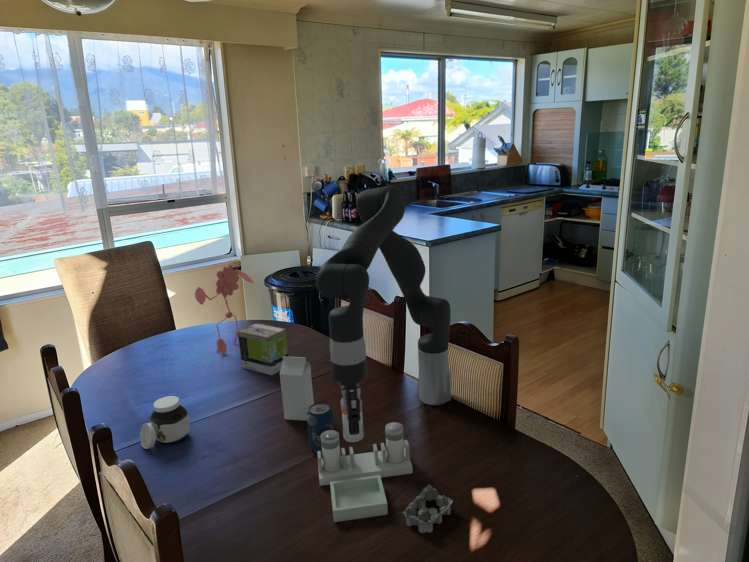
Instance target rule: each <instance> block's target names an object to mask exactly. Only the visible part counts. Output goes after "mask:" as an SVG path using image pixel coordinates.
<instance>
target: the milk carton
mask: <svg viewBox="0 0 749 562" xmlns="http://www.w3.org/2000/svg"><path fill="white" fill-rule="evenodd" d="M279 379H280V390H281V397H282V398H281V399H282V407H283V416H284V420H290V421H292V420H293V421H306V422H307V413H308V409H309V407H310V406H311V405H313V404H315V401H314V391H313V382H312V370H311V364H310V363H309V362H308V361H307V359H306V357H305V356H288V357H284V356H283V361H282V366H281V370H280V371H279Z"/></svg>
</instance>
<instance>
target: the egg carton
mask: <svg viewBox="0 0 749 562" xmlns="http://www.w3.org/2000/svg"><path fill="white" fill-rule="evenodd" d="M426 501H429V502H431V501H435V504H436V506H438V507H439V512H438V509H437V508H435V507H429V508H428V507H426V505H427V504H426ZM453 502H454V500H453V499H451V498H450V497H446V496H445V494H442V495H441V494H439V491H438V490H437V489H436V488H434V487H433V486H431V484H428V485H427V486H425V487H424V488H423V489H422V490H421V491H420V493H419V495H417V496H416V497H415V499H413V500H412V501H411V502H410V503H409V504H408V505H407V507H406V508H405V510H404V511H402V512H401V514H403V516H404V517H405V521H406V523H405V524H406V526H408V527H412V526H417V527H418V532H419V533H420V534H423V533H429V534H431V533H432V532H433V531H434V529H433V527H434V524H438V525H440V524H441V523H442V522H443V515H447V516H449V515H451V513H452V511H451V510H452V508H451V505H452V504H453ZM418 509H419V510H418ZM417 510H418V511H417Z"/></svg>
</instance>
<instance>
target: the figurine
mask: <svg viewBox="0 0 749 562" xmlns="http://www.w3.org/2000/svg"><path fill="white" fill-rule="evenodd" d="M216 277H217V278H218V279H217V281H216V282H215V285H216V294H215V295H214V296H212V297H209V296H208V295H207V294H206V291H205V290H204V289H203V288H202V287H200V286H198V287H197V288H196V289H195V292H194V298H195V299H196V302H198V303H199V304H200V305H201V306H203V305H204V303H205V301H206V300H207V299H208V301H212V300H213V299H214V298H217V297H218V296H219V295H220V294H221V296H222V297H223V299H224V301H225V304H226V307H227V308H226V309H227V310H228V311H226V312H225V314H224V315H225V318H223V319H222V320H221V321H219V322H218V323H217V324H216V330H217V332H218V333H217V334H218V337H219V338H218V339H217V340H216V347H217V349H216V352H217V353H218V352H220V353H221V355H222V356H225V355H226V353H227V350H228V349H227V344H226V342H225V340H224V339H223V338H221V335H220V331H219V324H221V323H222V322H223V321H224V320H226V319H231V318H232V317H234V320H235V326H236V331H235V338H234V340H233V341H234V342H233V344H236V341H237V339H239V337H238V331H239V327H238V321H237V316H236V315H235V314H233V312H232V311H230V307H229V305H228V304H229V303H228V300H227V297H228V296H233V295H234V294H233V293H234V291H237V290H238V289H239V284H238V282H239V280H240V277H242V279H244V280H245V281H247V282H249V283H252V284H253V283H254V280H253V279H252V278H251V277H250V276H249V275H248V274H247V273H245V272H244V271H239V269H237V268H236V269H234V267H233V265H232V264H231V263H230V264H229V265H228V266H223V268H222V270H219V271H217V272H216ZM206 298H207V299H206ZM220 353H219V354H220ZM239 358H240V359H241V356H240V357H239Z"/></svg>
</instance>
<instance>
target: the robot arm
mask: <svg viewBox="0 0 749 562" xmlns="http://www.w3.org/2000/svg"><path fill="white" fill-rule="evenodd" d="M355 203H356V204H355V206H356V209H357V213H358V215H359V218H360V221H361V222H362V224H361V225H359V226H358V227H357V228H356V229H354V230H353V231H352V232H351V234H350V235H349V236H348V237H347V239H346V241H345V243H344V244H343V246H342V247H341V249H340V250H339V251H337V252H336V253H335V254H333V255H332V256H331V257H329V258H328V259H327V260H326V261H325V262H324V263H323V264H322V265H321V266H320V268H319V269H318V272H317V275H316V278H315V279H316V280H315V282H316V283H315V285H316V289H317V291H318V292H319V294H320V295H321V296H322V297H325V298H328V299H329V298H330V299H342V300H343V299H345V300H346V299H347V300H349V305H343V306H338V307H335V308H333V309H332V310H330V312H328V313H329V314H328V327H329V329H328V330H329V354H330V355H329V356H330V369H331V378H332V379H333V380H334V381H335V382H336V383H339V384H340V390H341V395H342V396H341V397H342V398H344V407H345V409H346V410H347V419H348V424H349V434H350V435H356V434H359V433H360V431H359V421H360V419H361V417H360V407H361V404H360V397H361V394H362V392H361V386H360V382H362V381H363V380H364V379H365V378H366V377H367V375H368V367H367V366H368V365H367V364H368V363H367V352H366V351H367V348H366V342H365V337H364V320H363V319H364V311H365V310H364V308H365V302H366V298H367V295H368V294H367V293H368V290H369V287H370V275H369V272H368V269H369V268H370V266H371V264H372V263H373V260H374V258H375V256H376V253H377V252H378V250H380V252H381V254H382V255H383V258H384V260H385V262H386V264H387V266H388V268H389V271H390V272H391V274H392V276H393V278H394V280H395V281H396V284H397V286H398V287H399V290H400V292H401V293H402V296H403V298H404V300H405V305H406V306H407V307H406V308H407V309H408V312H409V315H410V317H411V320H412V321H413V322H414V324H416V325H417V326H421V327H425V328H431V329H432V332H431V333H428V334H424V335H422V336H420V337H419V338H418V340H417V352H418V353H417V356H418V358H417V359H418V360H417V361H418V363H417V364H418V389H419V391H418V394H419V397H418V398H419V400H420V401H421V403H423V404H426V405H429V406H441V405H444V404H446V403H447V402H451V401H452V397H451V396H452V394H451V393H452V392H451V391H452V390H451V389H452V386H451V385H452V383H451V378H452V376H451V371H450V370H449V368H450V367H449V343H450V333H451V312H452V310H451V306H450V301H448V300H447V299H445V298H442V297H435V296H429V295H426V294H425V293H424V291H423V289H422V287H421V285H422V283H423V281H424V278H425V275H426V265H425V262H424V260H423V257H422V255H421V253H420V251H419V249H418V248H417V247H416V246H415V244H413V243H412V242H411V241H409V240H408V239H407V238H406V237H404V236H403V235H401V234H399V233H397V232H396V231H394V229H395V228H396V227H397V226H398V224H399V223H400V222H401V221H402V219H403V217H404V215H405V211H406V203H405V196H404V195H403V192H402V190H401V189H400V187H398V186H395V185H385V186H379V187H376V188H369V189H365V190H363V191H360V192H359V193H358V194H357V196H356V200H355ZM346 400H347V401H346Z"/></svg>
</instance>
